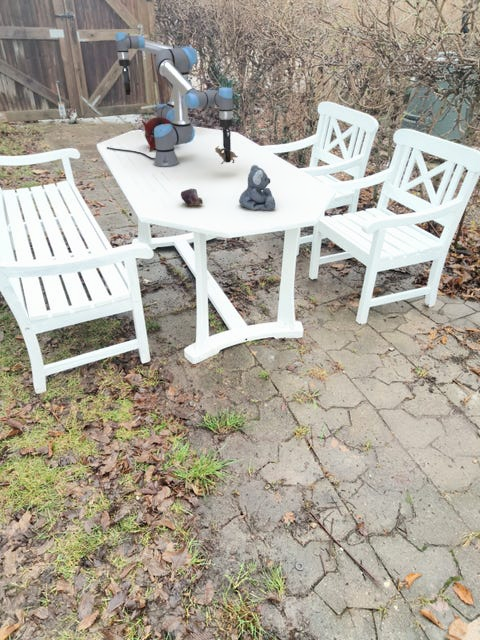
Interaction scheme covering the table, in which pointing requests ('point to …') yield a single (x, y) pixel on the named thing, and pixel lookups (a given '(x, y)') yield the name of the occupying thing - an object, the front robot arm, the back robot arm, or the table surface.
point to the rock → (191, 197)
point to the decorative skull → (150, 129)
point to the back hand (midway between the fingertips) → (128, 93)
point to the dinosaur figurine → (224, 154)
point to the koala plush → (257, 191)
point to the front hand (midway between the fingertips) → (227, 160)
